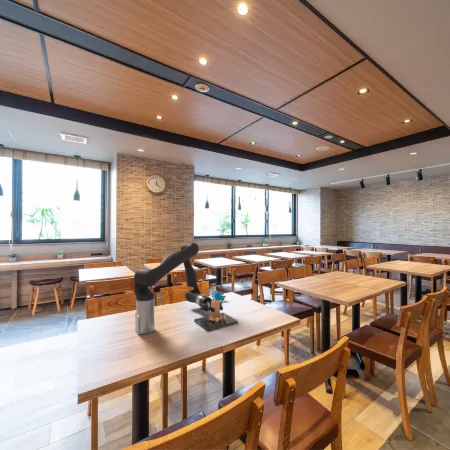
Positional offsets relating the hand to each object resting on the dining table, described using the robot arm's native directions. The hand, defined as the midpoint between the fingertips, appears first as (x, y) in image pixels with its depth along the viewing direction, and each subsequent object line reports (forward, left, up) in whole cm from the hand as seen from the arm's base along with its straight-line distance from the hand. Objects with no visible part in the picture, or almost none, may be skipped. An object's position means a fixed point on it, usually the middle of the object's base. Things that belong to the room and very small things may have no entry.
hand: (218, 309), depth 138 cm
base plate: (0, +3, -8) cm, 9 cm away
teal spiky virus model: (+21, +34, -9) cm, 41 cm away
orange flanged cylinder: (0, +3, -6) cm, 7 cm away
